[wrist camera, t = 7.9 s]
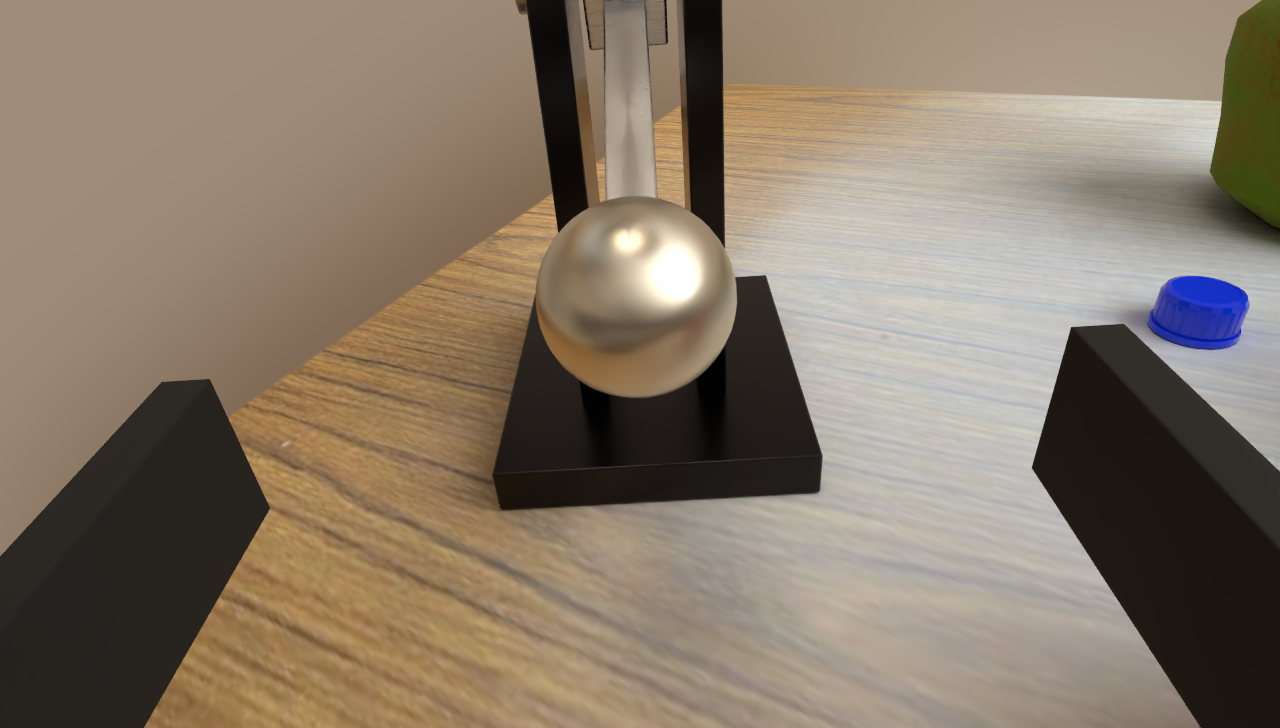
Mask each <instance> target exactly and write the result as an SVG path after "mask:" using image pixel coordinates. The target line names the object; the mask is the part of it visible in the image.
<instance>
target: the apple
mask: <svg viewBox="0 0 1280 728" xmlns="http://www.w3.org/2000/svg"><path fill="white" fill-rule="evenodd" d="M1210 173H1211V175H1212V176H1213V178H1214V180H1215V182H1216V183H1217V185H1218V187H1220V188H1221V189H1222V190H1224V191H1225V192H1226V193H1228V194H1229V195H1230V196H1231V197H1233V198H1234V199H1235V200H1237V201H1238V202H1239V203H1241V204H1242V205H1243V206H1245V207H1246V208H1247V209H1249V210H1250V211H1251V212H1253V213H1254V214H1255V215H1257V216H1258V217H1260V218H1261V219H1262V220H1264V221H1265V222H1267V223H1268V224H1270V225H1271V226H1274V227H1277V228H1280V0H1262V1H1260V2H1259V3H1257V4H1256V5H1255V6H1253V7H1252V8H1251V9H1249V10H1248V11H1246V12H1245V13H1244V14H1242V15H1241V16H1240V17H1238V20H1237V23H1236V27H1235V30H1234V33H1233V36H1232V39H1231V43H1230V46H1229V49H1228V53H1227V56H1226V61H1225V73H1224V84H1223V96H1222V107H1221V117H1220V122H1219V127H1218V133H1217V138H1216V143H1215V148H1214V153H1213V159H1212V164H1211V169H1210Z"/></svg>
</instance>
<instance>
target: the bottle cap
mask: <svg viewBox="0 0 1280 728" xmlns="http://www.w3.org/2000/svg"><path fill="white" fill-rule="evenodd" d="M1249 306H1250V304H1249V301H1248V296H1247V294H1246V293H1245V292H1244V291H1243V290H1242V289H1240V288H1239V287H1237V286H1235V285H1233V284H1231V283H1228V282H1225V281H1222V280H1218V279H1214V278H1210V277H1203V276H1180V277H1175V278H1172V279H1170V280H1168V281H1167V282H1166V283H1165V284H1164V285H1163V286H1162V287H1161V289H1160V292H1159V294H1158V297H1157V300H1156V303H1155V305H1154V308H1153V309H1152V311H1151V312H1150V313H1149V316H1148V319H1147V324H1148V326H1149V328H1150V329H1151V330H1152V331H1153V332H1155V333H1156V334H1157V335H1159V336H1161V337H1162V338H1164V339H1167V340H1169V341H1171V342H1174V343H1177V344H1181V345H1184V346H1188V347H1194V348H1201V349H1221V348H1226V347H1230V346H1232V345H1234V344H1235V343H1236V342H1237V341H1238V339H1239V337H1240V334H1241V326H1242V324H1243V321H1244V319H1245V316H1246V314H1247V311H1248V309H1249Z"/></svg>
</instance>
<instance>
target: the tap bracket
mask: <svg viewBox="0 0 1280 728" xmlns="http://www.w3.org/2000/svg"><path fill="white" fill-rule="evenodd" d="M516 5H517V8H518V10H519V13H520V14H523V15H524V14H528V21H529V28H530V35H531V43H532V49H533V56H534V63H535V71H536V78H537V85H538V92H539V99H540V106H541V113H542V120H543V128H544V135H545V142H546V148H547V156H548V163H549V169H550V177H551V184H552V191H553V198H554V205H555V213H556V220H557V227H558V233H559V232H560V231H561V230H562V228H563V227H564V226H565V225H566V224H567V223H568V222H569V221H571V220H572V219H573V218H574V217H575V216H577V215H578V214H580V213H581V212H583V211H585V210H586V209H588V208H590V207H592V206H594V205H596V204H598V203H600V198H599V189H598V179H597V170H596V160H595V151H594V142H593V132H592V123H591V113H590V104H589V95H588V85H587V76H586V68H585V67H586V66H585V57H584V48H583V38H582V29H581V19H580V10H579V1H578V0H516ZM677 19H678V44H679V67H680V89H681V91H680V92H681V117H682V141H683V165H684V189H685V209H686V210H688V211H690V212H691V213H693V214H694V215H695V216H697V217H698V218H700V219H701V220H702V221H703V222H704V223H705V224H706V225H707V226H708V227H709V228H710V229H711V230H712V231H713V232H714V234H715V235H716V236H717V238H718V239H719V240H720V242H721V243H722V245H723V247H724V249H725V206H724V118H723V36H722V35H723V30H722V0H677ZM735 280H736V291H737V306H736V314H735V319H734V323H733V327H732V330H731V333H730V335H729V337H728V339H727V341H726V344H725V346H724V348H723V349H722V351H721V352H720V354H719V355H718V357H717V358H716V359H715V360H714V362H713V363H712V364H711V365H710V366H709V367H708V368H707V370H706V371H704V372H703V373H702V374H701V375H700V376H699V377H697V378H696V379H694V380H693V381H691V382H690V383H688V384H687V385H685V386H683V387H681V388H679V389H677V390H675V391H672V392H669V393H666V394H663V395H659V396H655V397H647V398H626V397H619V396H614V395H610V394H606V393H604V392H601V391H598V390H595V389H593V388H591V387H590V386H588V385H586V384H584V383H583V382H581V381H580V380H578V379H577V378H576V377H574V376H573V375H572V374H570V373H569V372H568V371H567V370H566V369H565V368H564V367H563V366H562V365H561V363H560V362H559V361H558V360H557V358H556V357H555V356H554V354H553V353H552V352H551V350H550V348H549V346H548V345H547V343H546V341H545V338H544V336H543V333H542V331H541V328H540V325H539V320H538V315H537V310H536V294H535V298H534V302H533V307H532V311H531V315H530V319H529V323H528V327H527V332H526V336H525V340H524V344H523V348H522V353H521V357H520V361H519V365H518V369H517V374H516V378H515V382H514V386H513V390H512V394H511V399H510V403H509V407H508V411H507V415H506V420H505V424H504V428H503V432H502V436H501V440H500V445H499V449H498V453H497V457H496V461H495V466H494V470H493V474H492V476H493V480H494V484H495V488H496V492H497V497H498V501H499V505H500V508H501V509H520V508H538V507H556V506H574V505H592V504H610V503H629V502H647V501H665V500H683V499H701V498H719V497H738V496H756V495H774V494H792V493H810V492H819V491H820V483H821V470H822V457H823V456H822V453H821V449H820V446H819V443H818V440H817V437H816V433H815V430H814V427H813V424H812V421H811V418H810V414H809V411H808V408H807V405H806V402H805V398H804V395H803V392H802V389H801V386H800V383H799V379H798V376H797V373H796V370H795V367H794V363H793V360H792V357H791V354H790V351H789V348H788V344H787V341H786V338H785V335H784V332H783V328H782V325H781V322H780V319H779V316H778V312H777V309H776V306H775V303H774V300H773V297H772V293H771V290H770V287H769V284H768V281H767V277H766V276H765V275H763V276H748V277H735Z"/></svg>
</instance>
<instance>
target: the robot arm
mask: <svg viewBox="0 0 1280 728" xmlns="http://www.w3.org/2000/svg"><path fill="white" fill-rule="evenodd" d="M1032 469H1033V470H1034V472H1035V474H1036V475H1037V477H1038V478H1039V480H1040V481H1041V483H1042V484H1043V486H1044V487H1045V489H1046V490H1047V492H1048V494H1049V495H1050V497H1051V498H1052V500H1053V501H1054V503H1055V504H1056V506H1057V507H1058V509H1059V510H1060V512H1061V514H1062V515H1063V517H1064V518H1065V520H1066V521H1067V523H1068V524H1069V526H1070V527H1071V529H1072V530H1073V532H1074V533H1075V535H1076V537H1077V538H1078V540H1079V541H1080V543H1081V544H1082V546H1083V547H1084V549H1085V550H1086V552H1087V553H1088V555H1089V557H1090V558H1091V560H1092V561H1093V563H1094V564H1095V566H1096V567H1097V569H1098V570H1099V572H1100V573H1101V575H1102V577H1103V578H1104V580H1105V581H1106V583H1107V584H1108V586H1109V587H1110V589H1111V590H1112V592H1113V593H1114V595H1115V597H1116V598H1117V600H1118V601H1119V603H1120V604H1121V606H1122V607H1123V609H1124V610H1125V612H1126V613H1127V615H1128V616H1129V618H1130V620H1131V621H1132V623H1133V624H1134V626H1135V627H1136V629H1137V630H1138V632H1139V633H1140V635H1141V636H1142V638H1143V640H1144V641H1145V643H1146V644H1147V646H1148V647H1149V649H1150V650H1151V652H1152V653H1153V655H1154V656H1155V658H1156V660H1157V661H1158V663H1159V664H1160V666H1161V667H1162V669H1163V670H1164V672H1165V673H1166V675H1167V676H1168V678H1169V680H1170V681H1171V683H1172V684H1173V686H1174V687H1175V689H1176V690H1177V692H1178V693H1179V695H1180V696H1181V698H1182V699H1183V701H1184V703H1185V704H1186V706H1187V707H1188V709H1189V710H1190V712H1191V713H1192V715H1193V716H1194V718H1195V719H1196V721H1197V723H1198V724H1199V726H1200V727H1201V728H1280V471H1279V470H1278V469H1277V468H1275V467H1274V466H1273V465H1272V464H1271V463H1270V462H1269V461H1268V460H1267V459H1266V458H1265V457H1264V456H1263V455H1262V454H1261V453H1260V452H1259V451H1258V450H1256V449H1255V448H1254V447H1253V446H1252V445H1251V444H1250V443H1249V442H1248V441H1247V440H1246V439H1245V438H1244V437H1243V436H1242V435H1241V434H1240V433H1239V432H1237V431H1236V430H1235V429H1234V428H1233V427H1232V426H1231V425H1230V424H1229V423H1228V422H1227V421H1226V420H1225V419H1224V418H1223V417H1222V416H1221V415H1220V414H1218V413H1217V412H1216V411H1215V410H1214V409H1213V408H1212V407H1211V406H1210V405H1209V404H1208V403H1207V402H1206V401H1205V400H1204V399H1203V398H1202V397H1201V396H1199V395H1198V394H1197V393H1196V392H1195V391H1194V390H1193V389H1192V388H1191V387H1190V386H1189V385H1188V384H1187V383H1186V382H1185V381H1184V380H1183V379H1182V378H1180V377H1179V376H1178V375H1177V374H1176V373H1175V372H1174V371H1173V370H1172V369H1171V368H1170V367H1169V366H1168V365H1167V364H1166V363H1165V362H1164V361H1162V360H1161V359H1160V358H1159V357H1158V356H1157V355H1156V354H1155V353H1154V352H1153V351H1152V350H1151V349H1150V348H1149V347H1148V346H1147V345H1146V344H1145V343H1143V342H1142V341H1141V340H1140V339H1139V338H1138V337H1137V336H1136V335H1135V334H1134V333H1133V332H1132V331H1131V330H1130V329H1129V328H1128V327H1127V326H1126V325H1124V324H1116V325H1100V326H1083V327H1071V330H1070V334H1069V337H1068V341H1067V344H1066V348H1065V351H1064V355H1063V358H1062V362H1061V366H1060V369H1059V373H1058V376H1057V380H1056V383H1055V387H1054V391H1053V394H1052V398H1051V401H1050V405H1049V408H1048V412H1047V415H1046V419H1045V423H1044V426H1043V430H1042V433H1041V437H1040V440H1039V444H1038V448H1037V451H1036V455H1035V458H1034V462H1033V465H1032ZM269 509H270V507H269V505H268V503H267V501H266V499H265V497H264V494H263V492H262V490H261V488H260V486H259V484H258V482H257V479H256V477H255V475H254V473H253V471H252V469H251V467H250V464H249V462H248V460H247V458H246V456H245V454H244V452H243V449H242V447H241V445H240V443H239V441H238V439H237V437H236V434H235V432H234V430H233V428H232V426H231V424H230V422H229V419H228V417H227V415H226V413H225V411H224V409H223V407H222V404H221V402H220V400H219V398H218V396H217V394H216V392H215V390H214V387H213V385H212V383H211V381H210V379H205V380H188V381H171V382H161V384H160V385H159V386H158V387H157V388H156V389H155V390H154V391H153V392H152V393H151V394H150V395H149V396H148V398H147V399H146V400H145V401H144V402H143V403H142V404H141V405H140V406H139V407H138V408H137V409H136V410H135V412H134V413H133V414H132V415H131V416H130V417H129V418H128V419H127V420H126V421H125V422H124V423H123V424H122V426H121V427H120V428H119V429H118V430H117V431H116V432H115V433H114V434H113V435H112V436H111V437H110V439H109V440H108V441H107V442H106V443H105V444H104V445H103V446H102V447H101V448H100V449H99V451H97V453H96V454H95V455H94V456H93V457H92V458H91V459H90V460H89V461H88V462H87V463H86V465H85V466H84V467H83V468H82V469H81V470H80V471H79V472H78V473H77V474H76V475H75V476H74V477H73V478H72V480H71V481H70V482H69V483H68V484H67V485H66V486H65V487H64V488H63V489H62V490H61V492H60V493H59V494H58V495H57V496H56V497H55V498H54V499H53V500H52V501H51V502H50V503H49V504H48V505H47V507H46V508H45V509H44V510H43V511H42V512H41V513H40V514H39V515H38V516H37V517H36V519H34V521H33V522H32V523H31V524H30V525H29V526H28V527H27V528H26V529H25V530H24V531H23V533H22V534H21V535H20V536H19V537H18V538H17V539H16V540H15V541H14V542H13V543H12V544H11V545H10V546H9V548H8V549H7V550H6V551H5V552H4V553H3V554H2V555H1V556H0V728H144V726H145V725H146V723H147V721H148V719H149V718H150V716H151V714H152V713H153V711H154V709H155V707H156V706H157V704H158V702H159V700H160V699H161V697H162V695H163V693H164V692H165V690H166V688H167V686H168V685H169V683H170V681H171V680H172V678H173V676H174V674H175V673H176V671H177V669H178V667H179V666H180V664H181V662H182V660H183V659H184V657H185V655H186V653H187V652H188V650H189V648H190V647H191V645H192V643H193V641H194V640H195V638H196V636H197V634H198V633H199V631H200V629H201V627H202V626H203V624H204V622H205V620H206V619H207V617H208V615H209V614H210V612H211V610H212V608H213V607H214V605H215V603H216V601H217V600H218V598H219V596H220V594H221V593H222V591H223V589H224V587H225V586H226V584H227V582H228V581H229V579H230V577H231V575H232V574H233V572H234V570H235V568H236V567H237V565H238V563H239V561H240V560H241V558H242V556H243V554H244V553H245V551H246V549H247V548H248V546H249V544H250V542H251V541H252V539H253V537H254V535H255V534H256V532H257V530H258V528H259V527H260V525H261V523H262V521H263V520H264V518H265V516H266V515H267V513H268V511H269Z"/></svg>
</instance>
